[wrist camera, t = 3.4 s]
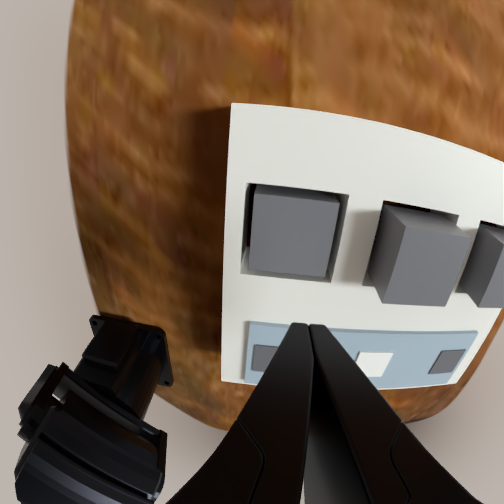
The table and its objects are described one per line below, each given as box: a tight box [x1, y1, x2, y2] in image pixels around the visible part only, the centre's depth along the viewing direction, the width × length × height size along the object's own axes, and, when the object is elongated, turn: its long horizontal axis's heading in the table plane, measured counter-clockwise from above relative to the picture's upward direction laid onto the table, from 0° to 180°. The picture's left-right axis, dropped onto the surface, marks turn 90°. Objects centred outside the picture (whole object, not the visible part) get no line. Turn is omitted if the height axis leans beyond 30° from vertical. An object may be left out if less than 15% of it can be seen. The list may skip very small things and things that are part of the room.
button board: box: [221, 103, 504, 390], centre depth 15 cm, size 16×18×3 cm
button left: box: [248, 184, 340, 277], centre depth 14 cm, size 4×4×3 cm
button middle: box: [367, 205, 472, 307], centre depth 12 cm, size 4×4×3 cm
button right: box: [459, 224, 504, 308], centre depth 12 cm, size 4×4×3 cm
